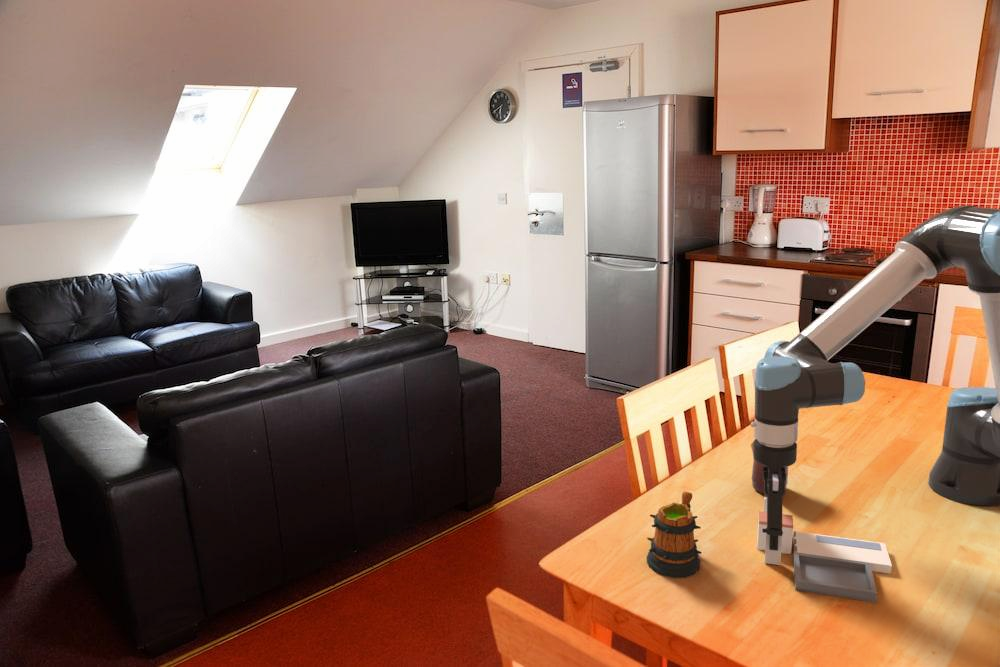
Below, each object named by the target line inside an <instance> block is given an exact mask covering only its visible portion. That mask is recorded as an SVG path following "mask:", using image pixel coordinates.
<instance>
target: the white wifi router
mask: <svg viewBox="0 0 1000 667" xmlns="http://www.w3.org/2000/svg"><path fill="white" fill-rule="evenodd" d="M792 545H793V553H794V552H797V553H804V554H811V555H818V556H825V557H832V558H839V559H846V560H853V561H860V562H867V563H870V567H871V571H872V572H875V573H883V574H890V575H891V574H892V570H893V569H892V568H893V565H892V562H891V559H890V556H889V553H888V552H889V551H888V549H887V546H886V542H879V541H873V540H865V539H864V540H863V539H855V538H847V537H841V536H834V535H825V534H818V533H812V532H805V531H795V530H793V536H792Z"/></svg>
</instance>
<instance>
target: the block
mask: <svg viewBox="0 0 1000 667" xmlns="http://www.w3.org/2000/svg"><path fill="white" fill-rule="evenodd" d="M793 517H794V516H793V515H792V514H784V513H782V531H783V534H782V542H781V554H787V555H788V554H789V555H791V554H792V547H793V546H792V545H793V533H794V518H793ZM757 523H758V525H757V536H756V537H757V538H756V540H757V542H756V543H757V545H756V548H757V550H759V551H765V540H766V533H763V529H766V528H767V512H764V511H762V510H761V511H758V521H757Z"/></svg>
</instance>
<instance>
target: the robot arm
mask: <svg viewBox="0 0 1000 667" xmlns="http://www.w3.org/2000/svg"><path fill="white" fill-rule="evenodd" d="M950 268H960V269H963V270H964V271H965V277H966V282H967V288H968V289H969V291H970V292H972V293H974V294H976V295H978V296H979V299H980V300H979V301H980V306H981V310H982V317H983V323H984V330H985V334H986V341H987V348H988V352H989V358H990V363H991V369H992V374H993V379H994V386H995V387H987V386H986V387H984V386H967V387H966V386H965V387H959V388H956V389H954V390H953V391H952V392H951V393H950V395H949V399H948V403H947V405H946V412H945V413H946V414H945V415H946V416H945V424H944V431H943V441H942V447H941V448H942V449H941V452H940V454H939V456H938V457H937V459H936V461H935V463H934V464H933V466H932V468H931V470H930V471H929V475H928V482H927V483H928V486H929V487H930V489H931V490H933V491H934V492H935V493H937V494H939V495H940V496H942V497H944V498H947V499H950V500H952V501H956V502H960V503H963V504H967V505H973V506H974V505H975V506H982V507H983V506H984V507H990V506H1000V208H992V207H991V208H990V207H982V206H976V205H959V206H955V207H954V206H953V207H952V208H948V209H945V210H943V211H941V212H938V213H937V214H935V215H933V216H931V217H929V218H927V219H926V220H925V221H923V222H922V223H920V224H919V225H917V226H915V227H914V228H913V229H912V230H911V231H908V233H907V234H906V235H905V236H903V237H902V238H901V239H900V240H899V241H898V242H896V243H895V244H894V252H893V253H891V254H890V255H889V256H888V257H886V259H885V260H884V261H882V262H881V263H880V264H879V265H878V266H876V267H875V268H874V269H873V270H872V271H871V272H869V273H868V274H867V275H866V276H864V277H863V278H862V279H861V280H860V281H859V282H857V283H856V284H855V285H854V286H853V287H852V288H851V289H850V290H848V291H847V292H846V293H845V294H843V295H842V296H841V297H840V298H839V299H838V300H837V301H835V303H833V305H831V306H830V307H829V308H828V309H826V310H825V311H824V312H823V313H822V314H820V315H819V316H818V317H817V318H816V319H815V320H813V321H812V322H811V323H810V324H809V325H808V326H807V327H805V328H804V329H803V330H802V331H801V332H799V333H798V334H797V335H796V336H795V337H793V339H791V340H790V341H788V340H787V341H786V340H781V341H780V340H779V341H776V342H774V343H772V344H771V345H770V346H769V347H768V348H767V349H766V351H765V353H764V357H762V358H761V359H760V360H759V361H758V362H757V364H756V370H755V378H754V384H753V385H754V421H751V423H750V427H751V428H754V431H753V432H754V433H753V434H754V435H753V436H754V440H753V441H754V449H753V452H752V458H753V457H754V459H755V460H756V461H757V462H758V463H760V464H762V465H766V466H763V480H764V494H763V495H764V497H763V512H767V528H766V529H763V533H766V540H765V550H764V564H769V565H777V566H781V563H782V561H781V560H782V553H781V542H782V534H783V531H782V514H783V497H784V495H785V491H784V483H785V481H786V473H785V467H786V466H788V467H790V466H792V465H794V464H795V463H796V461H797V454H798V451H797V450H798V444H797V441H798V439H799V437H798V436H799V413H800V412H799V411H800V409H801V410H802V409H808V408H809V409H810V408H818V407H819V408H820V407H830V406H843V405H846V404H847V405H848V404H852V403H857V402H859V401H860V400H861V399H862V398H863V396H864V394H865V392H866V379H865V376H864V373H863V371H862V369H861V367H860V366H859V365H858V364H856V363H854V362H842V361H840V362H836V363H833V362H829V360H830V359H832V358H833V357H834V356H835V355H836V354H838V352H840V351H841V350H842V349H843V348H844V347H846V346H847V345H849V343H850V342H852V341H853V340H854V339H855V338H857V337H858V336H859V335H860V334H861V333H862V332H863V331H865V329H867V328H868V327H869V326H870V325H872V324H873V323H874V322H875V321H876V320H878V319H879V318H880V317H881V316H882V315H883V314H885V313H886V312H887V311H888V310H889V309H891V308H892V307H893V306H894V305H895V304H897V303H898V302H899V301H900V300H901V299H902V298H904V297H905V296H906V295H907V294H908V293H909V292H911V291H912V290H913V289H914V288H915V287H917V286H918V285H919V284H920V283H921V282H923V280H931V279H934V278H936V277H937V276H939V274H940V273H941V272H944V271H945V270H948V269H950Z"/></svg>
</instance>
